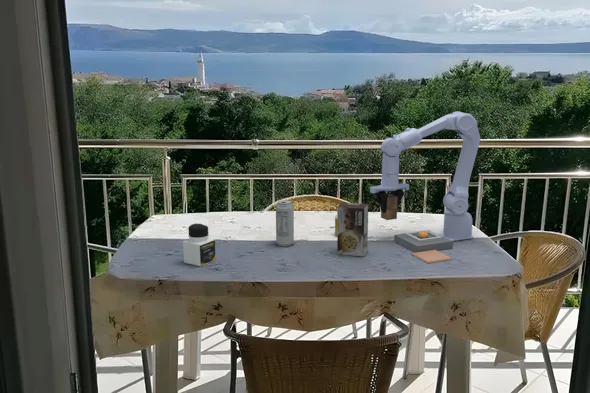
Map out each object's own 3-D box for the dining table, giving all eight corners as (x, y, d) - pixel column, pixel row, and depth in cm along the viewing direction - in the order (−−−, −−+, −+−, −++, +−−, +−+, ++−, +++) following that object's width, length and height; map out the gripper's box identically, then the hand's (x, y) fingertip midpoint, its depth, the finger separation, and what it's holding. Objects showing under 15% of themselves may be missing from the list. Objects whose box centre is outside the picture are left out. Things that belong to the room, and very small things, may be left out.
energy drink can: (297, 244, 195) (297, 201, 192) (285, 248, 191) (284, 204, 188) (284, 240, 199) (284, 199, 196) (272, 244, 195) (272, 202, 192)
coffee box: (368, 251, 188) (369, 203, 184) (363, 257, 182) (365, 208, 178) (341, 248, 191) (342, 201, 187) (336, 254, 185) (336, 206, 181)
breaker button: (424, 237, 196) (424, 230, 195) (429, 239, 193) (429, 232, 192) (416, 238, 194) (417, 231, 194) (421, 241, 192) (422, 233, 191)
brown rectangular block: (390, 216, 202) (391, 194, 200) (396, 218, 199) (397, 196, 197) (380, 217, 201) (381, 195, 199) (386, 220, 197) (387, 197, 195)
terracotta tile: (434, 251, 187) (434, 249, 187) (452, 259, 179) (452, 258, 179) (411, 254, 184) (411, 253, 184) (428, 263, 176) (428, 261, 176)
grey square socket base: (427, 237, 203) (428, 227, 202) (452, 248, 190) (453, 238, 190) (394, 241, 198) (394, 231, 197) (417, 253, 185) (417, 243, 184)
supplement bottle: (348, 237, 203) (349, 211, 200) (333, 237, 204) (334, 210, 201) (350, 233, 208) (351, 207, 206) (335, 232, 209) (336, 207, 207)
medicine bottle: (200, 267, 174) (199, 229, 171) (183, 262, 177) (181, 225, 175) (216, 260, 180) (214, 223, 177) (198, 256, 183) (197, 220, 181)
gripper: (401, 169, 202) (400, 206, 205) (366, 172, 197) (365, 210, 200) (413, 173, 196) (411, 211, 199) (376, 176, 191) (375, 215, 194)
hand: (389, 211), depth 199 cm, fingers closed on brown rectangular block, 4 cm apart
